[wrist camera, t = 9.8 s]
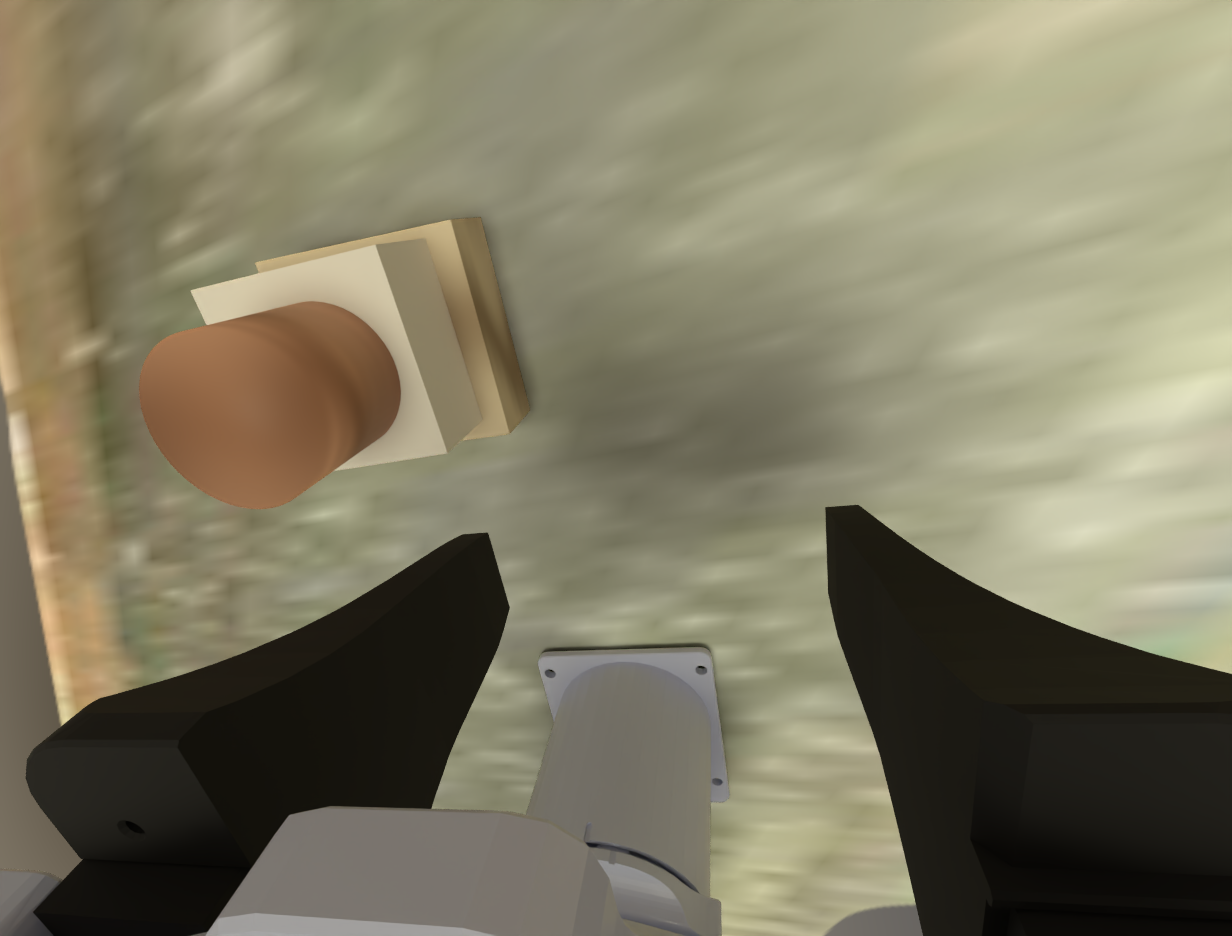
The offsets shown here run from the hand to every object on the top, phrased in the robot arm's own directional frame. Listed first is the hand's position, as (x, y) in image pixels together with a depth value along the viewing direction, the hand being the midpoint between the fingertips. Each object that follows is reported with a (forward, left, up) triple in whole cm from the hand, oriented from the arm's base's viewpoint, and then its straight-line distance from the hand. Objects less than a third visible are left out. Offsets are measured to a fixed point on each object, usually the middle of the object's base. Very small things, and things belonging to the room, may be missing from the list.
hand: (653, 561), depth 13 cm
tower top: (+4, +10, -8) cm, 13 cm away
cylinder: (+4, +10, -5) cm, 11 cm away
